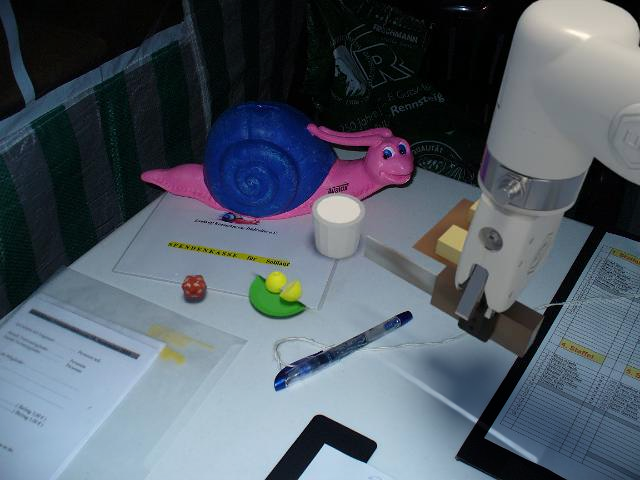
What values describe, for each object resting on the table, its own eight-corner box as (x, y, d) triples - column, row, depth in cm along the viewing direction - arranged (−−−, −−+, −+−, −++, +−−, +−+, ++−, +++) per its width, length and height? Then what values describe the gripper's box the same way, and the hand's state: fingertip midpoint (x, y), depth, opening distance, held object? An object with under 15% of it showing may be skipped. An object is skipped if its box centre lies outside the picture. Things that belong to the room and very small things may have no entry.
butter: (489, 258, 78) (494, 244, 77) (474, 274, 76) (478, 260, 74) (450, 237, 81) (453, 224, 80) (434, 253, 79) (437, 239, 77)
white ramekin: (349, 227, 84) (352, 187, 79) (370, 259, 79) (374, 219, 75) (304, 238, 82) (304, 198, 77) (322, 272, 77) (323, 231, 73)
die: (188, 284, 75) (185, 267, 73) (211, 288, 75) (209, 271, 73) (179, 301, 73) (176, 284, 71) (203, 305, 73) (200, 289, 71)
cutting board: (538, 238, 83) (540, 233, 82) (490, 295, 75) (492, 290, 74) (462, 202, 88) (464, 197, 88) (410, 252, 80) (411, 247, 80)
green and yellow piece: (324, 284, 76) (325, 269, 74) (294, 328, 70) (293, 313, 69) (270, 263, 78) (269, 248, 76) (236, 304, 73) (235, 288, 71)
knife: (532, 342, 56) (544, 315, 54) (521, 358, 55) (533, 331, 52) (371, 249, 65) (374, 222, 62) (357, 261, 64) (360, 234, 61)
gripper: (530, 247, 39) (474, 401, 52) (618, 144, 48) (552, 295, 61) (433, 199, 42) (402, 354, 55) (532, 111, 52) (486, 261, 64)
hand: (481, 322), depth 58 cm, fingers closed on knife, 2 cm apart
